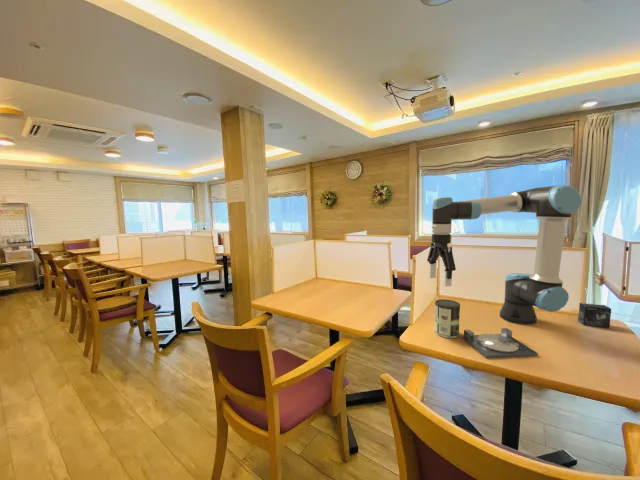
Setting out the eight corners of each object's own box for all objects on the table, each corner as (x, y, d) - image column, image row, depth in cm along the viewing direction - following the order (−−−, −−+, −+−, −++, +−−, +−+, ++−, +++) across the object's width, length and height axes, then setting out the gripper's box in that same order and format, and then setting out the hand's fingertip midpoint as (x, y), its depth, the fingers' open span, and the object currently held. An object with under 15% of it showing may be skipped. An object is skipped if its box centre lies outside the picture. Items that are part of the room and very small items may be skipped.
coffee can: (455, 328, 126) (456, 299, 124) (462, 339, 116) (463, 307, 114) (431, 327, 128) (432, 298, 126) (436, 337, 118) (437, 306, 116)
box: (583, 325, 126) (585, 306, 125) (577, 321, 131) (579, 302, 130) (609, 328, 123) (612, 308, 122) (602, 323, 128) (604, 304, 127)
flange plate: (506, 336, 118) (507, 327, 117) (537, 356, 102) (538, 346, 101) (461, 338, 117) (462, 329, 116) (486, 358, 101) (486, 348, 100)
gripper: (420, 231, 128) (419, 275, 130) (447, 236, 103) (445, 290, 106) (436, 231, 128) (434, 274, 131) (466, 236, 104) (464, 289, 106)
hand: (439, 281), depth 118 cm, fingers open, 13 cm apart
